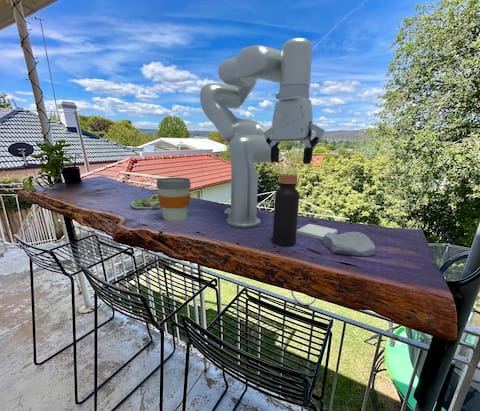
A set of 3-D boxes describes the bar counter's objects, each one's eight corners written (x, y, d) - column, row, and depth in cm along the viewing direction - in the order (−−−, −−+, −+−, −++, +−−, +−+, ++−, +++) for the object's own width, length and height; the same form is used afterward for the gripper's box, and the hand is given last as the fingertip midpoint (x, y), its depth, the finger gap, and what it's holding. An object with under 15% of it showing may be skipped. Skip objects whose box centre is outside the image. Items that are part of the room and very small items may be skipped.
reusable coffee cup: (179, 223, 87) (178, 182, 84) (151, 219, 91) (148, 180, 88) (197, 215, 99) (196, 178, 95) (171, 212, 103) (169, 176, 99)
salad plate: (173, 210, 108) (173, 200, 106) (129, 213, 101) (129, 202, 100) (169, 201, 125) (168, 192, 124) (131, 203, 119) (130, 194, 117)
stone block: (377, 262, 64) (359, 241, 73) (381, 247, 62) (362, 228, 71) (333, 264, 64) (320, 243, 73) (336, 249, 62) (322, 229, 71)
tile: (296, 233, 80) (296, 230, 80) (308, 226, 87) (309, 223, 87) (326, 240, 74) (326, 237, 73) (337, 232, 81) (337, 229, 81)
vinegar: (299, 242, 72) (305, 175, 68) (288, 248, 67) (293, 177, 62) (279, 236, 76) (283, 173, 72) (268, 242, 71) (271, 174, 67)
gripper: (258, 97, 65) (256, 162, 69) (321, 87, 54) (315, 164, 58) (273, 102, 70) (270, 161, 74) (332, 94, 60) (326, 163, 64)
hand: (290, 162), depth 66 cm, fingers open, 9 cm apart
